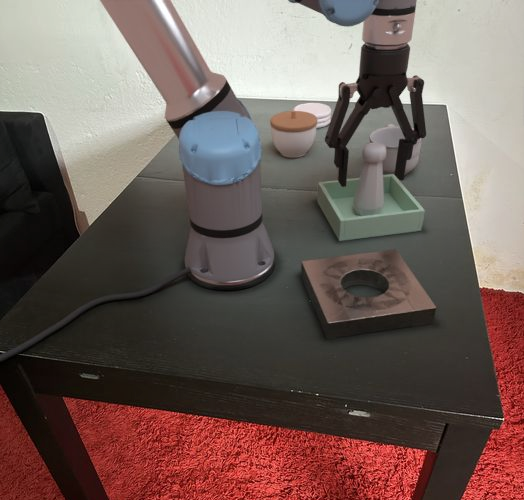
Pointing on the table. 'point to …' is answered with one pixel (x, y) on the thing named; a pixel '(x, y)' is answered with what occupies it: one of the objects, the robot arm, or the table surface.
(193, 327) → the table surface
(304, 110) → the coaster
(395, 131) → the teacup
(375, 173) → the salt shaker
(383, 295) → the drain plate
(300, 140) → the trinket box
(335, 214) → the green square tray
